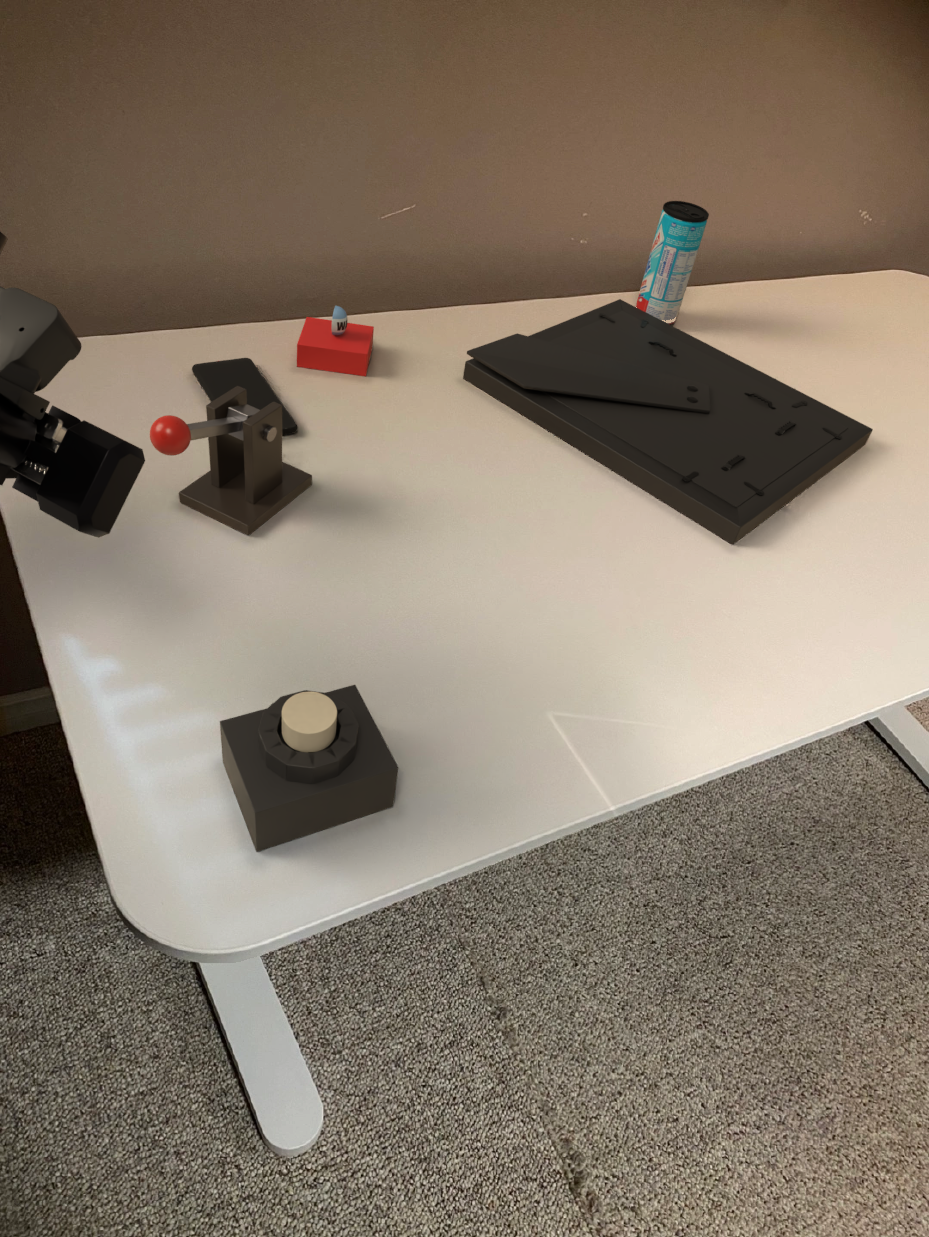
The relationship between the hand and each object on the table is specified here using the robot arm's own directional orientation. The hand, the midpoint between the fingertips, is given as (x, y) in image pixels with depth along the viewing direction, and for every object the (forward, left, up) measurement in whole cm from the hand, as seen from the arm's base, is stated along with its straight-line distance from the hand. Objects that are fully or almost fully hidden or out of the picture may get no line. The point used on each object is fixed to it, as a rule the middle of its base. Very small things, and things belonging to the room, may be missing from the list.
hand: (91, 469), depth 68 cm
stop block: (+16, -18, -13) cm, 28 cm away
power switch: (+7, +11, -5) cm, 14 cm away
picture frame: (+58, +35, -14) cm, 69 cm away
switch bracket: (+10, +16, -13) cm, 23 cm away
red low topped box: (+19, +43, -14) cm, 49 cm away
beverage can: (+63, +59, -14) cm, 87 cm away
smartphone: (+9, +32, -14) cm, 36 cm away
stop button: (+16, -18, -7) cm, 25 cm away
